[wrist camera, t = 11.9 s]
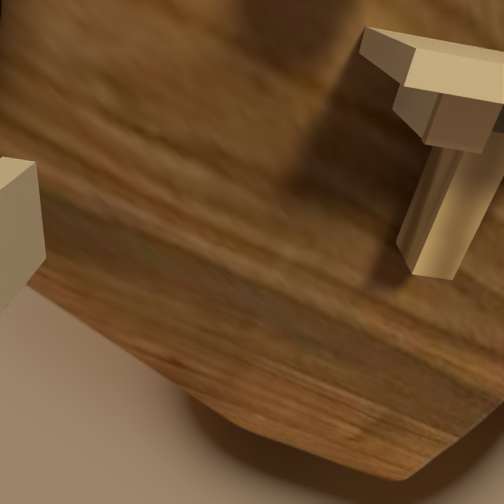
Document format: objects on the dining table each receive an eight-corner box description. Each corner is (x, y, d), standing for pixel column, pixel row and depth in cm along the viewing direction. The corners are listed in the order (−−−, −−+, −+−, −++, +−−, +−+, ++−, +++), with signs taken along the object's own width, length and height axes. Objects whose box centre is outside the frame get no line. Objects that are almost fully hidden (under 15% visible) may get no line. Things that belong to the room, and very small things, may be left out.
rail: (395, 242, 46) (411, 274, 41) (455, 86, 38) (485, 102, 33) (431, 247, 47) (452, 280, 42) (499, 93, 38) (535, 110, 33)
